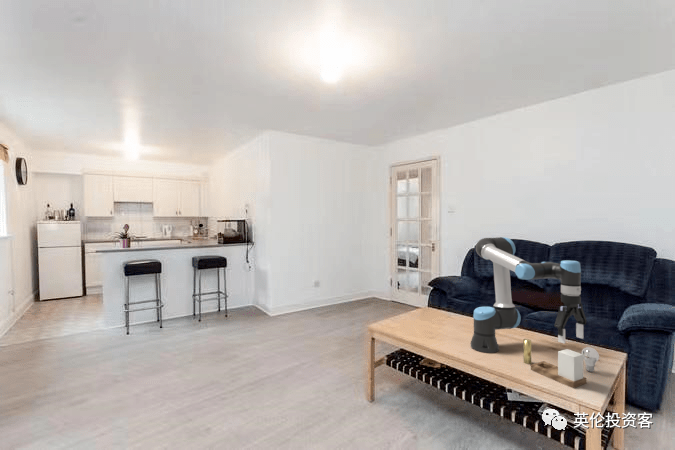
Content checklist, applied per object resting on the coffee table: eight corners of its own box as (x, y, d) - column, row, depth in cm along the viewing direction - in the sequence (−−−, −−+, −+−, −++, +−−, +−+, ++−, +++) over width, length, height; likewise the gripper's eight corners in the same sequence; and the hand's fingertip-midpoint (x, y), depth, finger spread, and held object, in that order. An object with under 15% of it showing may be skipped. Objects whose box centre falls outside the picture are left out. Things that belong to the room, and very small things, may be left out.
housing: (558, 374, 153) (558, 351, 153) (567, 371, 156) (567, 348, 156) (574, 381, 147) (574, 357, 147) (583, 378, 150) (583, 354, 150)
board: (530, 369, 164) (530, 346, 164) (543, 365, 168) (543, 342, 168) (573, 388, 146) (573, 361, 146) (586, 383, 150) (586, 357, 150)
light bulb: (591, 368, 165) (591, 344, 165) (602, 374, 158) (602, 350, 158) (577, 368, 165) (577, 345, 164) (588, 375, 158) (588, 350, 157)
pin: (521, 362, 173) (521, 339, 173) (526, 360, 174) (526, 338, 174) (528, 364, 170) (528, 341, 169) (532, 363, 171) (532, 340, 171)
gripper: (562, 299, 142) (562, 347, 142) (595, 293, 153) (595, 338, 153) (545, 295, 149) (545, 341, 149) (578, 290, 159) (578, 333, 160)
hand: (570, 340), depth 151 cm, fingers open, 13 cm apart
